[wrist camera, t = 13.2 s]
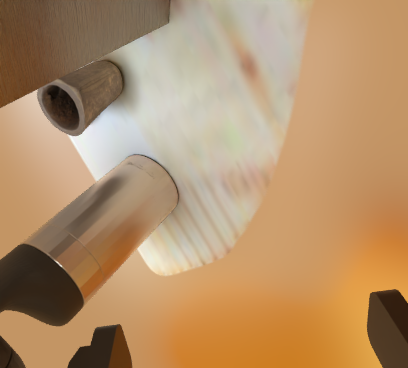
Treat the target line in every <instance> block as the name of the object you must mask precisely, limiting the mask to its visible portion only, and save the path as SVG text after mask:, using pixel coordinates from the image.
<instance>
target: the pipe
mask: <svg viewBox="0 0 408 368" xmlns="http://www.w3.org/2000/svg"><path fill="white" fill-rule="evenodd" d="M122 88H123V83H122V77H121V73H120V71H119V69H118V68H117V67H116V66H115V65H114V64H112V63H110V62H107V61H97V62H94V63H91V64H89V65H87V66H84V67H82V68H80V69H78V70H75V71H73V72H71V73H69V74H67V75H65V76H63V77H61V78H59V79H57V80H55V81H53V82H51V83H49V84H47V85H45V86H43V87H41V88H39V89H38V92H37V97H38V101H39V104H40V106H41V109H42V111H43V112H44V114H45V116H46V117H47V119H48V120H49V121H50V122H51V123H52V124H53V125H54V126H55V127H56V128H58V129H59V130H61V131H62V132H64V133H66V134H69V135H71V136H78V135H80V134H82V132H83V131H84V130H85V129H86V128H87V127H88V126H89V125H90V124H91V123H92V121H93V120H94V119H95V118H96V117H97V116H98V115H99V114H100V113H101V112H102V111H103V110H104V109H105V108H106V107H108V106H109V105H110V104H111V103H112V102H113V101H114V100H115V99H116V98H117V97H118V96H119V95H120V93H121V91H122Z"/></svg>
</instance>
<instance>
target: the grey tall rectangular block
mask: <svg viewBox="0 0 408 368" xmlns="http://www.w3.org/2000/svg"><path fill="white" fill-rule="evenodd" d="M169 8H170V0H0V108H1V107H3V106H5V105H7V104H9V103H11V102H13V101H15V100H17V99H19V98H21V97H23V96H25V95H27V94H29V93H31V92H33V91H35V90H37V89H39V88H41V87H43V86H45V85H47V84H49V83H51V82H53V81H55V80H57V79H59V78H61V77H63V76H65V75H67V74H69V73H71V72H73V71H75V70H77V69H79V68H80V67H82V66H84V65H86V64H88V63H90V62H92V61H94V60H96V59H98V58H100V57H102V56H104V55H106V54H108V53H110V52H112V51H114V50H116V49H118V48H120V47H122V46H124V45H126V44H128V43H130V42H132V41H134V40H136V39H138V38H140V37H142V36H144V35H146V34H148V33H150V32H152V31H154V30H156V29H158V28H160V27H162V26H164V25H166V24H168V23H169Z"/></svg>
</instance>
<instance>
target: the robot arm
mask: <svg viewBox="0 0 408 368" xmlns="http://www.w3.org/2000/svg"><path fill="white" fill-rule="evenodd" d="M177 203H178V192H177V189H176V186H175V184H174V182H173V180H172V179H171V177H170V176H169V174H168V173H167V172H166V171H165V170H164V169H163V168H162V167H161V166H160V165H159V164H157V163H156V162H154V161H153V160H151V159H149V158H147V157H144V156H140V155H132V156H129V157H127V158H126V159H125V160H124V161H122V162H121V163H120V164H119V165H117V166H116V167H115V168H114V169H112V170H111V171H110V172H109V173H107V174H106V175H105V176H103V177H102V178H101V179H100V180H98V181H97V182H96V183H95V184H94V185H92V186H91V187H90V188H89V189H87V190H86V191H85V192H84V193H82V194H81V195H80V196H79V197H78V198H76V199H75V200H74V201H72V202H71V203H70V204H69V205H67V206H66V207H65V208H64V209H63V210H61V211H60V212H59V213H58V214H56V215H55V216H54V217H53V218H51V219H50V220H49V221H48V222H46V223H45V224H44V225H43V226H42V227H40V228H39V229H38V230H37V231H36V232H34V233H33V234H32V235H31V236H29V237H28V238H27V239H26V240H25V241H23V242H22V243H21V244H20V245H18V246H17V247H16V248H15V249H13V250H12V251H11V252H10V253H8V254H7V255H6V256H5V257H3V258H2V259H1V260H0V312H2V311H4V310H12V311H18V312H22V313H25V314H27V315H29V316H31V317H34V318H35V319H37V320H39V321H41V322H44V323H46V324H49V325H52V326H62V325H65V324H67V323H68V322H69V321H70V320H71V319H72V318H73V317H74V316H75V315H76V314H77V313H78V312H79V311H80V310H81V309H82V307H83V306H84V305H85V304H86V303H87V302H88V301H89V300H90V299H91V298H92V297H93V296H94V295H95V294H96V292H97V291H98V290H99V289H100V288H101V287H102V286H103V285H104V284H105V283H106V281H107V280H108V279H109V278H110V277H111V276H112V275H113V274H114V273H115V272H116V271H117V270H118V269H119V267H120V266H121V265H122V264H123V263H124V262H125V261H126V260H127V259H128V258H129V257H130V255H131V254H132V253H133V252H134V251H135V250H136V249H137V248H138V247H139V246H140V245H141V244H142V243H143V242H144V240H145V239H146V238H147V237H148V236H149V235H150V234H151V233H152V232H153V231H154V230H155V229H156V228H157V227H158V226H159V224H160V223H161V222H162V221H163V220H164V219H165V218H166V217H167V216H168V215H169V214H170V212H171V211H172V210H173V209H174V208H175V207H176V205H177ZM367 332H368V337H369V340H370V343H371V346H372V348H373V349H374V351H375V353H376V355H377V357H378V359H379V361H380V363H381V365H382V367H383V368H408V303H407V302H406V300H405V299H404V297H403V296H402V295H401V293H400V292H399V291H398V290H396V289H394V290H386V291H378V292H372V293H371V294H370V298H369V310H368V322H367ZM0 368H26V367H25V365H24V363H23V361H22V360H21V358H20V357H19V355H18V354H17V353H16V352H15V351H14V350H13V349H12V348H11V347H10V345H9V344H8V343H7V342H6V341H5V340H4V339H3V338H2V337H1V336H0ZM68 368H132V361H131V356H130V352H129V349H128V346H127V342H126V339H125V336H124V333H123V330H122V327H121V325H120V324H118V325H111V326H103V327H97V328H96V329H95V331H94V334H93V338H92V341H91V345H90V346H84V347H80V348H79V349H78V351H77V352H76V353H75V355H74V356H73V358H72V359H71V360H70V362H69V365H68Z"/></svg>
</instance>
